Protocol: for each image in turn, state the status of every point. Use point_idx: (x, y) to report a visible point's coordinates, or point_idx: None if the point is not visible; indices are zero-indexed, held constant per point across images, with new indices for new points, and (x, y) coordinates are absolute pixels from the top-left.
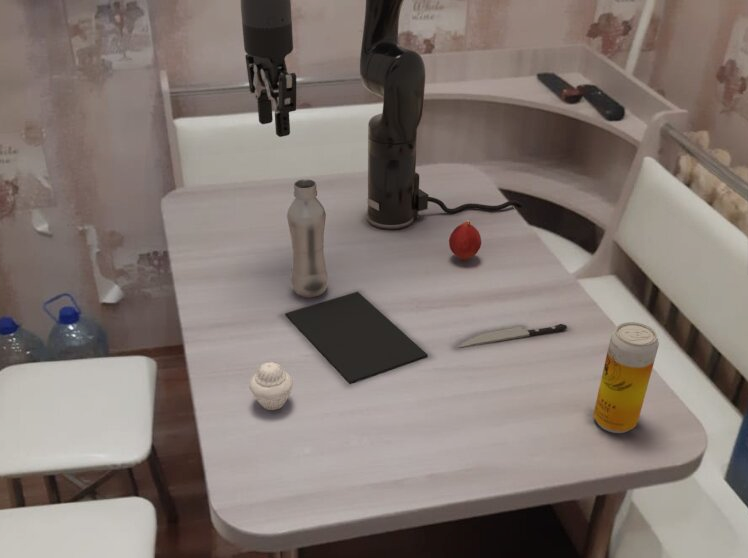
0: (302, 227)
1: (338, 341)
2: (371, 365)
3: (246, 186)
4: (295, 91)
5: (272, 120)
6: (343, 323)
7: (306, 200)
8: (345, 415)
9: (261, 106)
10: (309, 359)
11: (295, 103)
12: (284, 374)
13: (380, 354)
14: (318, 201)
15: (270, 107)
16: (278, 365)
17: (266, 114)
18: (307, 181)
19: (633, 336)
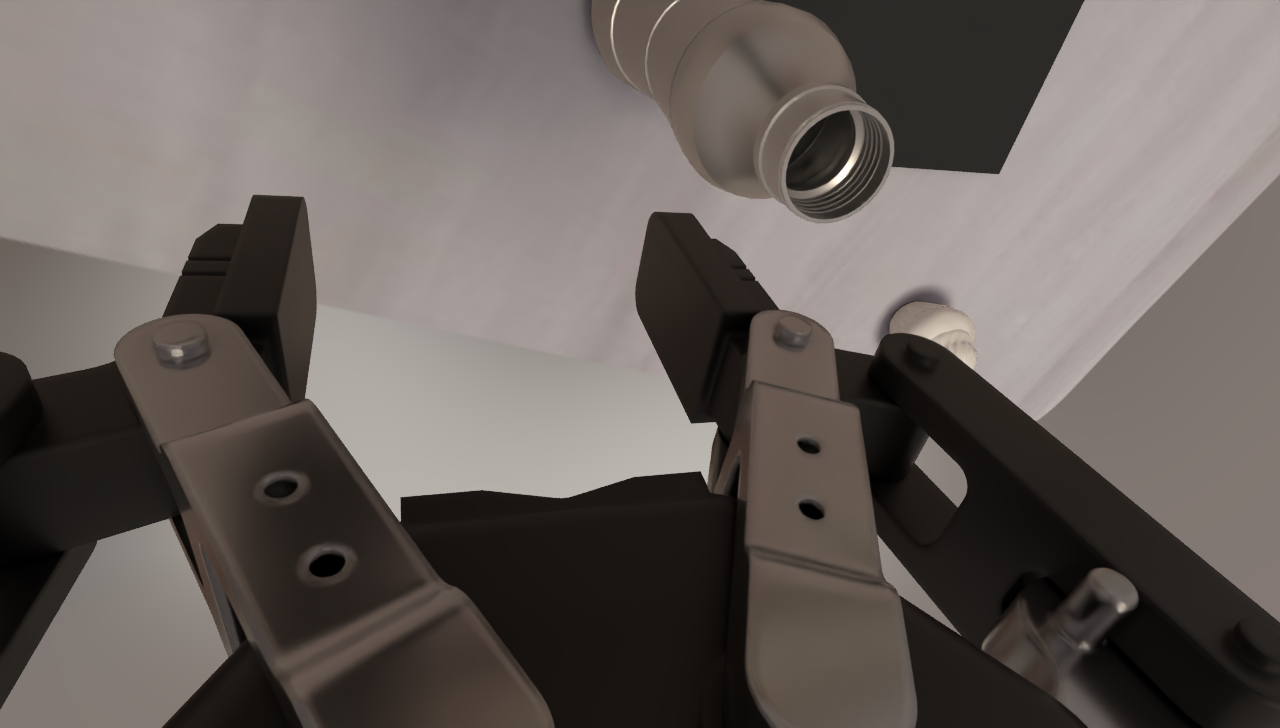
0: (802, 161)
1: (894, 106)
2: (1011, 98)
3: None
4: (1110, 496)
5: (302, 197)
6: (854, 40)
7: (842, 163)
8: (1033, 229)
9: (297, 391)
10: (875, 197)
11: (990, 394)
12: (968, 338)
13: (1009, 49)
14: (836, 74)
15: (286, 279)
16: (967, 353)
17: (301, 291)
18: (806, 122)
19: None
